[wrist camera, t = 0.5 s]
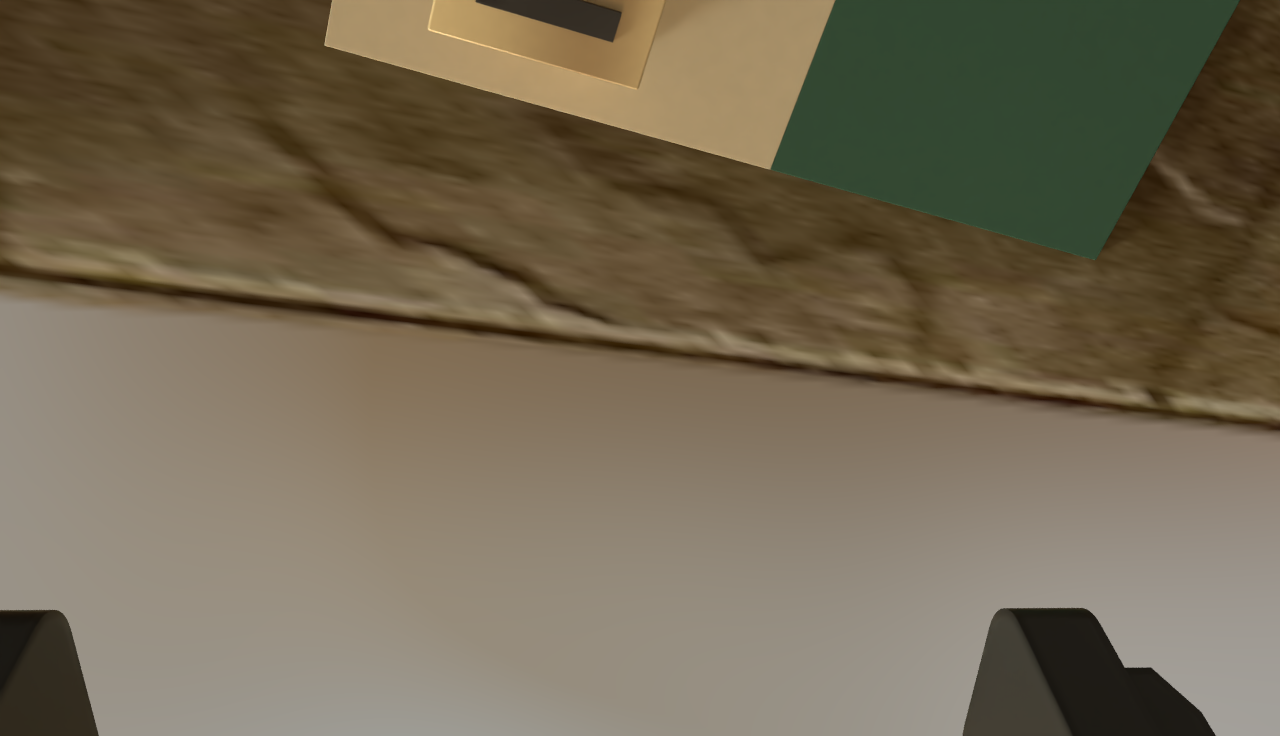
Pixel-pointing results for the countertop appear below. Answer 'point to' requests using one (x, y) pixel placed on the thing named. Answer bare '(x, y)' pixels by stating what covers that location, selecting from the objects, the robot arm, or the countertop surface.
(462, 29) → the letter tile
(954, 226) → the countertop surface
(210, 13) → the countertop surface
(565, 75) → the runner
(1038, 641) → the robot arm
